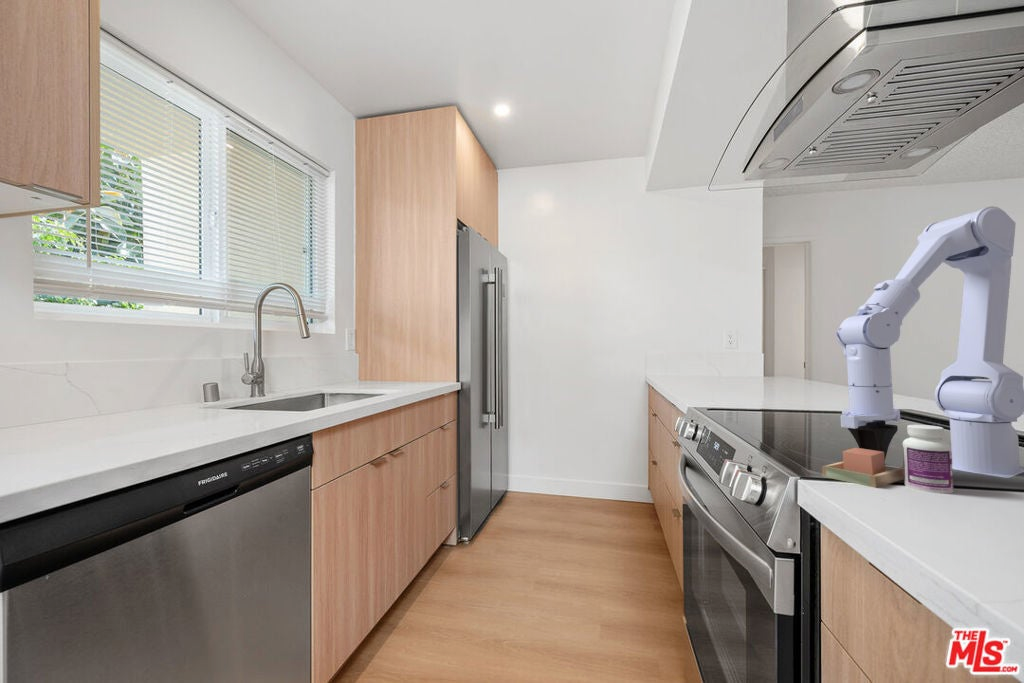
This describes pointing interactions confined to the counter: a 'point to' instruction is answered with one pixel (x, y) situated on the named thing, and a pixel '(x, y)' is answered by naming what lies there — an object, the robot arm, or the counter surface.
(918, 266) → the robot arm
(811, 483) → the counter surface
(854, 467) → the red block
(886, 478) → the box
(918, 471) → the pill bottle
